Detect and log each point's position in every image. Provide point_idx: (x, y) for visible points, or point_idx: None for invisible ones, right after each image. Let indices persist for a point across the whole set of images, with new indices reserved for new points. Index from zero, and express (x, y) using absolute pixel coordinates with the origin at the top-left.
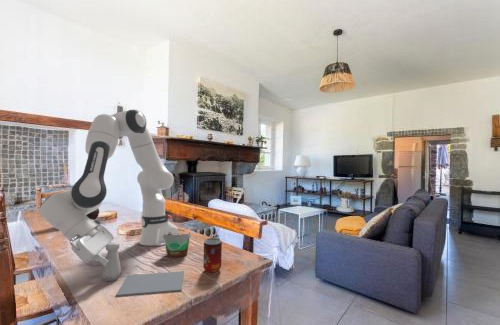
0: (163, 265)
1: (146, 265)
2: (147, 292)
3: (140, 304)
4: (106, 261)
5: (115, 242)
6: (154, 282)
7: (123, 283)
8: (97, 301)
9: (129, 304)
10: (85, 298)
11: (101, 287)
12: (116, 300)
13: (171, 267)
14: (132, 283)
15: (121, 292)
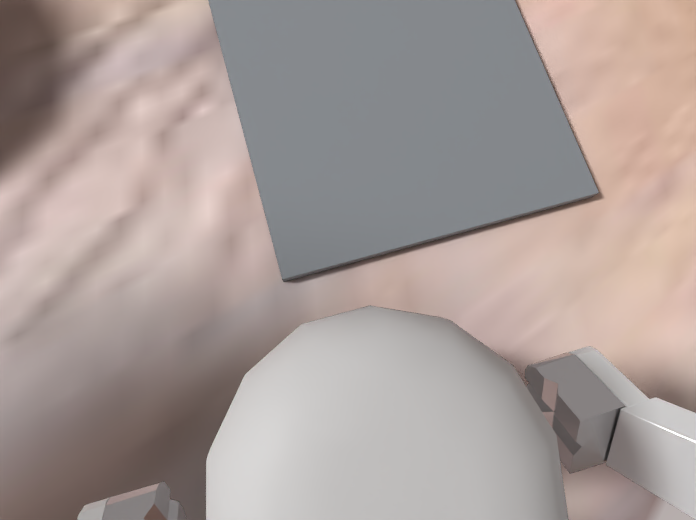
0: (35, 83)
1: (29, 233)
2: (519, 14)
3: (629, 13)
4: (601, 367)
5: (346, 434)
6: (385, 20)
7: (434, 232)
8: (673, 281)
9: (646, 69)
10: (665, 396)
11: None
12: (629, 166)
13: (82, 7)
14: (423, 164)
15: (561, 171)
